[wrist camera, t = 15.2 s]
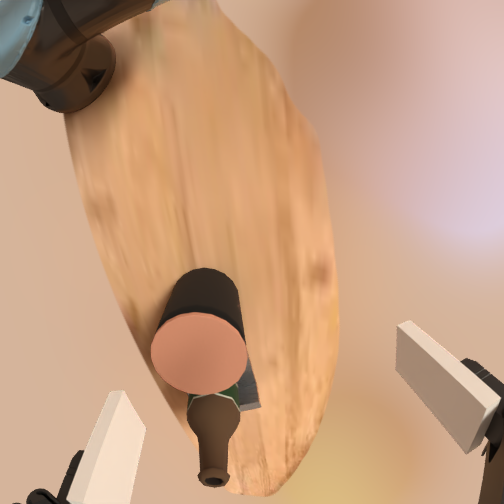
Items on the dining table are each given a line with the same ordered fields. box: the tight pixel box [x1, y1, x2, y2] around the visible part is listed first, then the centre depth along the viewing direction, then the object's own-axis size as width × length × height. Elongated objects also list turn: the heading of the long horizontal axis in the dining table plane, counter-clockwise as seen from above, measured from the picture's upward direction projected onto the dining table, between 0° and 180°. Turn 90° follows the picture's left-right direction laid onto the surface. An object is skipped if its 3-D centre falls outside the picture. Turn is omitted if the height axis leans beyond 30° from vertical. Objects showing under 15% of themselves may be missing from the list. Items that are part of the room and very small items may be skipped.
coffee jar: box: [151, 268, 248, 395], centre depth 39 cm, size 11×11×18 cm
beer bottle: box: [187, 382, 240, 488], centre depth 38 cm, size 8×8×24 cm
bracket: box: [187, 348, 261, 412], centre depth 48 cm, size 13×13×6 cm
